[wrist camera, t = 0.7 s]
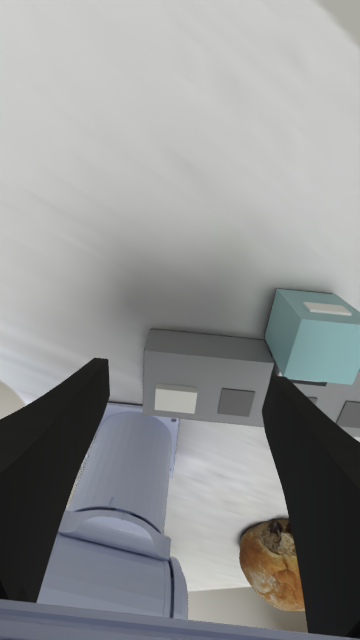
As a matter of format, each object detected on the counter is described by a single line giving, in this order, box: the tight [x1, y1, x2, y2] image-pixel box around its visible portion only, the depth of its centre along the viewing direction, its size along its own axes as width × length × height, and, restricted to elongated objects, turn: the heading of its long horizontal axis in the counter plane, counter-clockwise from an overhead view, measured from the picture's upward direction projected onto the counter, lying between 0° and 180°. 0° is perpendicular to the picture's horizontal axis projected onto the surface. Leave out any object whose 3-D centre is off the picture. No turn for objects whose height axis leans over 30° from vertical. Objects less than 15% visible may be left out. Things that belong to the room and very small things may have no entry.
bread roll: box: [239, 519, 305, 611], centre depth 32 cm, size 10×10×8 cm
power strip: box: [142, 329, 360, 437], centre depth 21 cm, size 6×28×4 cm, turn 85°
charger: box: [265, 289, 360, 385], centre depth 18 cm, size 6×4×5 cm
